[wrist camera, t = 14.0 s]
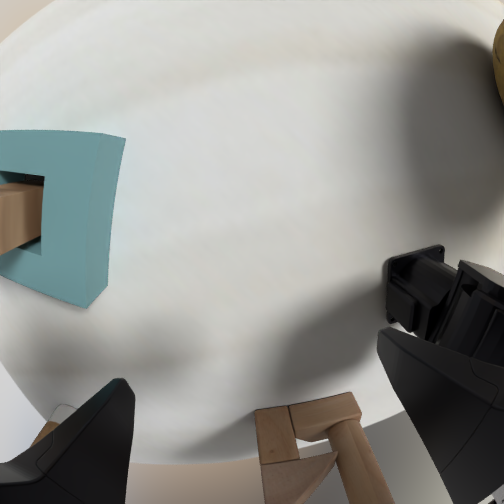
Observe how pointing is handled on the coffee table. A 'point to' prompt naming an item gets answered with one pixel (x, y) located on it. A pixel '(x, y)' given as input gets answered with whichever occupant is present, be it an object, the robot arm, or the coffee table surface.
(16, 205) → the square peg
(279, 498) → the wooden block
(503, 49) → the clay pot
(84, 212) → the teal square hole block
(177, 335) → the coffee table surface
